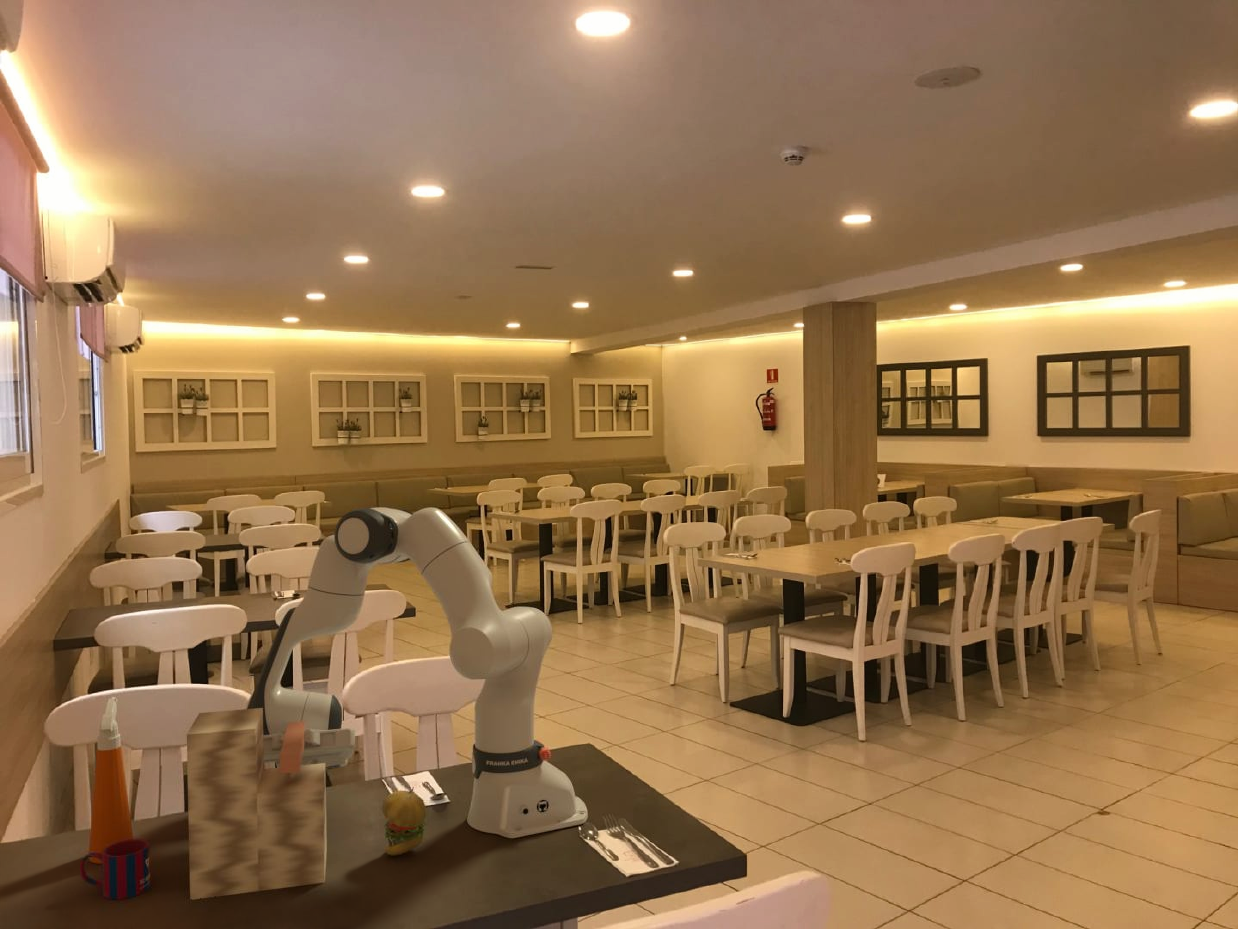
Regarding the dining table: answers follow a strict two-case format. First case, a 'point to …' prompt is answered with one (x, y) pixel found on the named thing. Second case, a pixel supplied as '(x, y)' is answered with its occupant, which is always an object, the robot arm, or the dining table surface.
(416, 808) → the hamburger
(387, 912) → the dining table surface
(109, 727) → the spray bottle
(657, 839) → the dining table surface
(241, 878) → the stepped stand
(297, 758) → the bar
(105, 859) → the mug
